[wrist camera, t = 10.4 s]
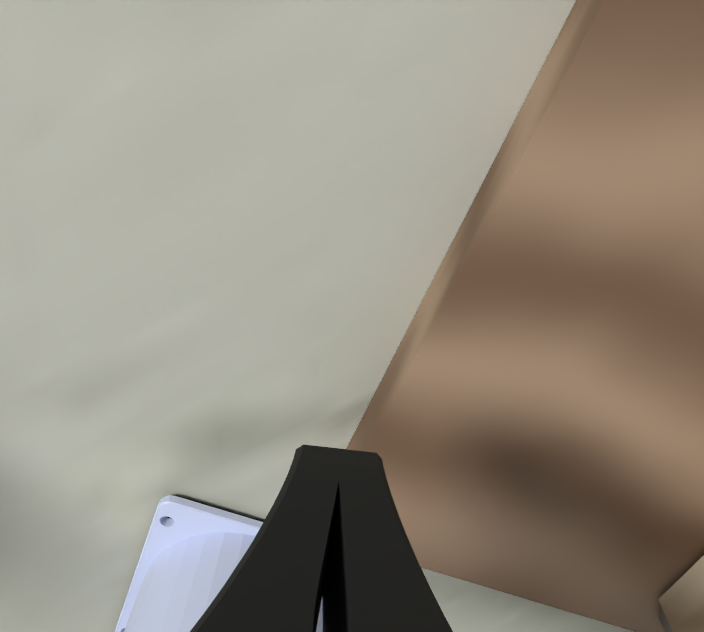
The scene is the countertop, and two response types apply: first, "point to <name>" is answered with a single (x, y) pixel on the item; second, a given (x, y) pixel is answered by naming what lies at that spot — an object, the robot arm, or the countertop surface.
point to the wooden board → (568, 337)
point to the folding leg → (684, 602)
